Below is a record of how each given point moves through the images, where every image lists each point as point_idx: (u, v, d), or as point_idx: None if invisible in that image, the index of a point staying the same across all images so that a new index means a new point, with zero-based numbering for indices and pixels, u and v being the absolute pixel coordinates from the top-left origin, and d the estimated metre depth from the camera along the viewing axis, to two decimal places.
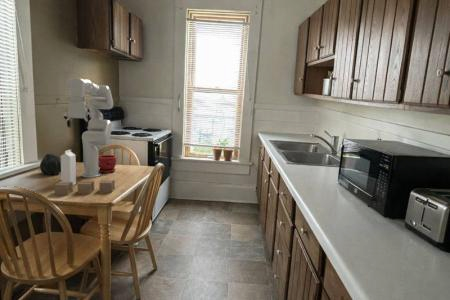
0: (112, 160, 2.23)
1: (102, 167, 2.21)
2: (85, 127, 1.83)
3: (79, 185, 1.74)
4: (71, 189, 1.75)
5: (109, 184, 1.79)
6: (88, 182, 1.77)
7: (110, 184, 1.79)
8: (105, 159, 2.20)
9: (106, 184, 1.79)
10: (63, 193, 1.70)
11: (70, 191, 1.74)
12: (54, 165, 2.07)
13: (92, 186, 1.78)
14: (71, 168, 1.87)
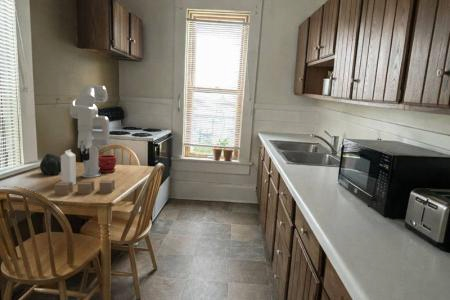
0: (112, 160, 2.23)
1: (102, 167, 2.21)
2: (89, 159, 1.77)
3: (79, 185, 1.74)
4: (71, 189, 1.75)
5: (109, 184, 1.79)
6: (88, 182, 1.77)
7: (110, 184, 1.79)
8: (105, 159, 2.20)
9: (106, 184, 1.79)
10: (63, 193, 1.70)
11: (70, 191, 1.74)
12: (54, 165, 2.07)
13: (92, 186, 1.78)
14: (71, 168, 1.87)
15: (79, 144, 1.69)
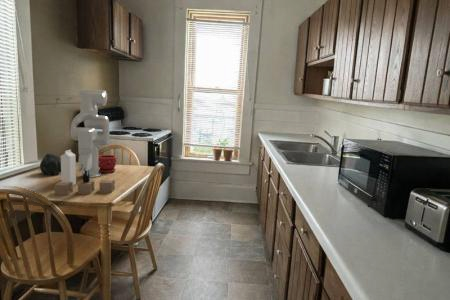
0: (112, 160, 2.23)
1: (102, 167, 2.21)
2: (89, 180, 1.78)
3: (79, 185, 1.74)
4: (71, 189, 1.75)
5: (109, 184, 1.79)
6: (88, 182, 1.77)
7: (110, 184, 1.79)
8: (105, 159, 2.20)
9: (106, 184, 1.79)
10: (63, 193, 1.70)
11: (70, 191, 1.74)
12: (54, 165, 2.07)
13: (92, 186, 1.78)
14: (71, 168, 1.87)
15: (80, 167, 1.71)
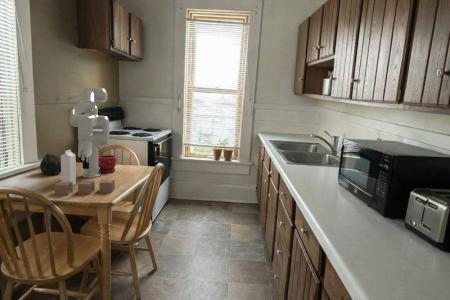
0: (112, 160, 2.23)
1: (102, 167, 2.21)
2: (89, 167, 1.77)
3: (79, 185, 1.74)
4: (71, 189, 1.75)
5: (109, 184, 1.79)
6: (88, 182, 1.76)
7: (110, 184, 1.79)
8: (105, 159, 2.20)
9: (106, 184, 1.79)
10: (63, 193, 1.70)
11: (70, 191, 1.74)
12: (54, 165, 2.07)
13: (92, 186, 1.78)
14: (71, 168, 1.87)
15: (79, 153, 1.70)
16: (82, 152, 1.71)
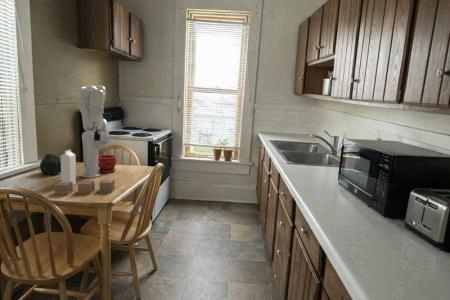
0: (112, 160, 2.23)
1: (102, 167, 2.21)
2: (100, 139, 1.86)
3: (79, 185, 1.74)
4: (71, 189, 1.75)
5: (109, 184, 1.79)
6: (88, 182, 1.76)
7: (110, 184, 1.79)
8: (105, 159, 2.20)
9: (106, 184, 1.79)
10: (63, 193, 1.70)
11: (70, 191, 1.74)
12: (54, 165, 2.07)
13: (92, 186, 1.78)
14: (71, 168, 1.87)
15: (91, 125, 1.79)
16: (94, 123, 1.79)
